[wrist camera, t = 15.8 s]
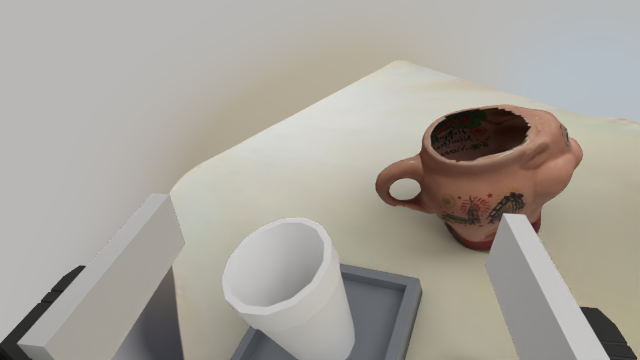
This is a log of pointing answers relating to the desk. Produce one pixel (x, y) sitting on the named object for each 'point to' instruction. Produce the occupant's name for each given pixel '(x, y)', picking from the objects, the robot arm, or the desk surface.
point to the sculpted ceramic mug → (486, 169)
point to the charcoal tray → (360, 318)
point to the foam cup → (292, 289)
